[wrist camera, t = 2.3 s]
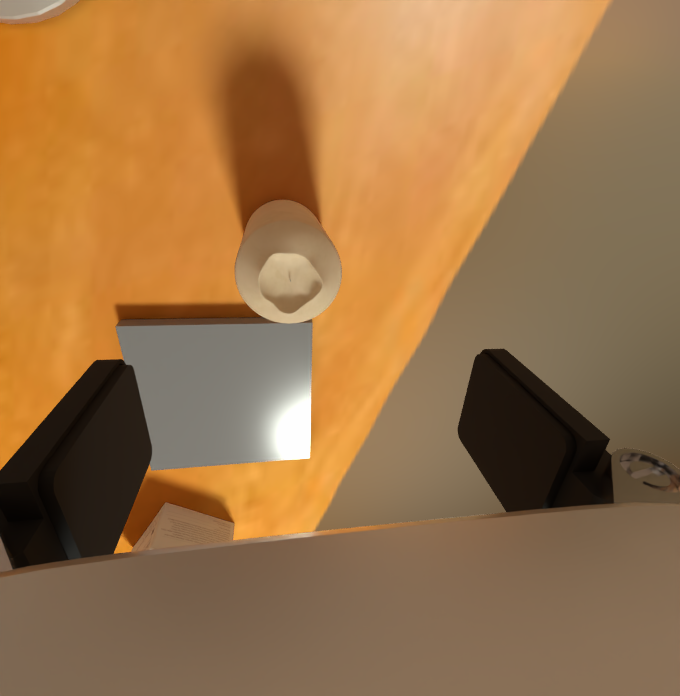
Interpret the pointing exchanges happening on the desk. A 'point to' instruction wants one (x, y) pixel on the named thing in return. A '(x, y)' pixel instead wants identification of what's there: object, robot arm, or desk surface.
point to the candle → (287, 263)
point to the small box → (183, 529)
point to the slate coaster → (222, 388)
